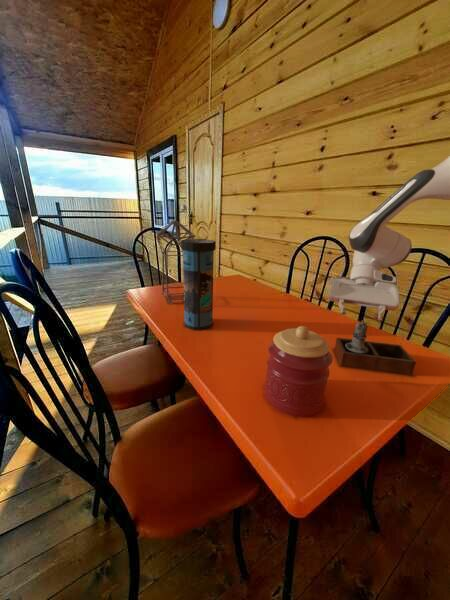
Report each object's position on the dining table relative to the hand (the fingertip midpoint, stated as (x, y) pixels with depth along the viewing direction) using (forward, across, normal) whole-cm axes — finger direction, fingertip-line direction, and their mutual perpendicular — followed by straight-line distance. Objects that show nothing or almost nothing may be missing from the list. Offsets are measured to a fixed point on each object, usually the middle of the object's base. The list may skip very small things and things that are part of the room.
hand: (359, 316), depth 79 cm
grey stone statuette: (+14, 0, -2) cm, 15 cm away
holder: (+14, +4, -1) cm, 15 cm away
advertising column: (+15, -51, -2) cm, 53 cm away
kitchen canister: (+32, -13, -18) cm, 38 cm away
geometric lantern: (+3, -73, +11) cm, 73 cm away
